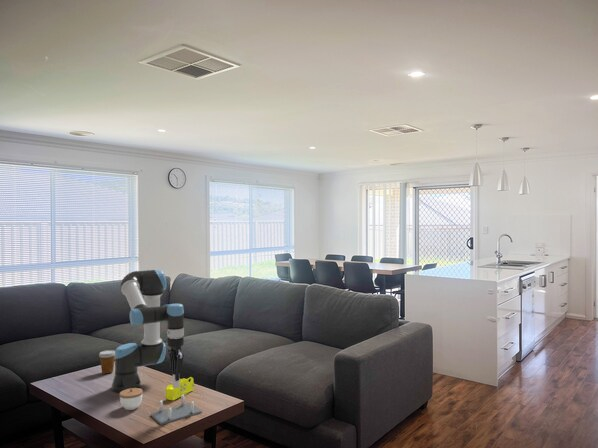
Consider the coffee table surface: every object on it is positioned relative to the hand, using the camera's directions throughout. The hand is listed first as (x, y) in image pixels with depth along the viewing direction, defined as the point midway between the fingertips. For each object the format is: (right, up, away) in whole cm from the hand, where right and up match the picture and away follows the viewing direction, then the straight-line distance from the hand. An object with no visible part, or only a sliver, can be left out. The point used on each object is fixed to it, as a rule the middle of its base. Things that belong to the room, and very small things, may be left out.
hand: (176, 386), depth 213 cm
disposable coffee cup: (-59, -13, +62) cm, 87 cm away
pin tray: (0, -13, 0) cm, 13 cm away
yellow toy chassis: (-4, -14, +24) cm, 28 cm away
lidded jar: (-25, -14, +9) cm, 29 cm away
